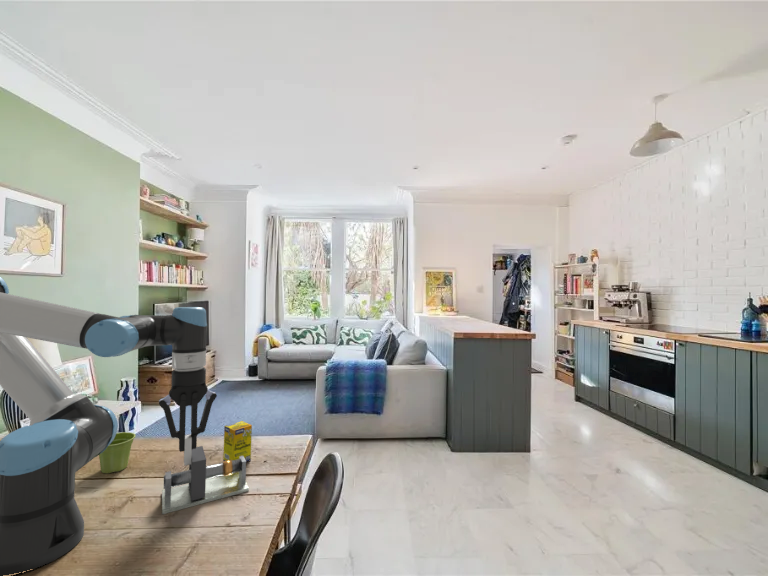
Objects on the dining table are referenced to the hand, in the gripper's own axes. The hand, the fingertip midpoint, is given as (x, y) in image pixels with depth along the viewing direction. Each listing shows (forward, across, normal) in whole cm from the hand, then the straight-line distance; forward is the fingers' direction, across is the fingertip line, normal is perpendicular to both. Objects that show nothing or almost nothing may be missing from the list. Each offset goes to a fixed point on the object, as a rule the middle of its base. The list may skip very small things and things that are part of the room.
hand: (187, 462), depth 88 cm
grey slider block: (+8, +2, 0) cm, 8 cm away
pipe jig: (+9, +4, 0) cm, 10 cm away
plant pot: (+9, -17, +27) cm, 33 cm away
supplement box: (+9, +14, +14) cm, 22 cm away
